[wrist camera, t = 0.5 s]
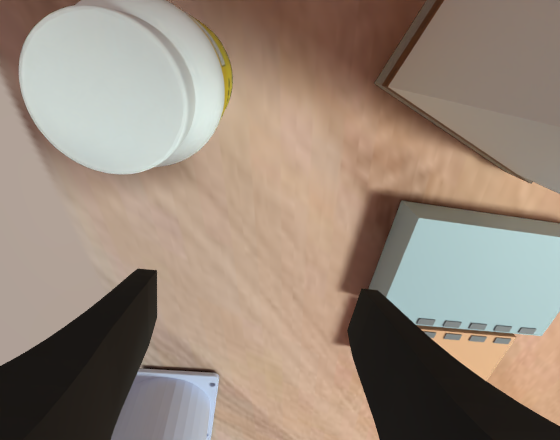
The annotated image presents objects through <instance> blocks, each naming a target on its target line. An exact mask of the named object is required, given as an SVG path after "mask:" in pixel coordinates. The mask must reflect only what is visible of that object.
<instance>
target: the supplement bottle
mask: <svg viewBox="0 0 560 440" xmlns="http://www.w3.org/2000/svg"><path fill="white" fill-rule="evenodd" d="M19 83H20V89H21V93H22V96H23V100H24V102H25V105H26V108H27V110H28V112H29V114H30V116H31V118H32V119H33V121H34V123H35V124H36V126H37V127H38V129H39V130H40V131H41V132H42V134H43V135H44V136H45V137H46V138H47V140H48V141H49V142H50V143H51V144H52V145H53V146H54V147H55V148H57V149H58V150H59V151H60V152H62V153H63V154H64V155H66V156H67V157H69V158H70V159H72V160H73V161H75V162H77V163H79V164H81V165H83V166H85V167H88V168H90V169H93V170H96V171H100V172H104V173H109V174H134V173H139V172H143V171H146V170H148V169H151V168H153V167H161V166H167V165H172V164H175V163H178V162H180V161H183V160H185V159H187V158H189V157H190V156H192V155H193V154H195V153H196V152H197V151H199V150H200V149H201V148H202V147H203V146H204V145H205V144H206V143H207V142H208V140H209V139H210V138H211V136H212V135H213V133H214V132H215V130H216V128H217V126H218V124H219V122H220V120H221V117H222V116H223V113H224V111H225V109H226V107H227V105H228V102H229V100H230V96H231V92H232V84H233V75H232V68H231V64H230V60H229V58H228V55H227V53H226V51H225V49H224V47H223V45H222V43H221V42H220V40H219V39H218V38H217V36H216V35H215V34H214V33H213V32H212V31H211V30H210V29H209V28H208V27H206V26H205V25H204V24H202V23H201V22H200V21H198V20H197V19H195V18H194V17H192V16H190V15H189V14H187V13H186V12H184V11H183V10H181V9H180V8H178V7H177V6H175V5H173V4H172V3H170V2H168V1H166V0H81V1H79V2H78V3H77V4H75V5H74V6H68V7H65V8H61V9H59V10H56V11H54V12H52V13H50V14H49V15H47V16H46V17H44V18H43V19H42V20H41V21H40V22H38V23H37V24H36V25H35V26H34V27H33V29H32V30H31V31H30V33H29V34H28V36H27V38H26V40H25V42H24V44H23V47H22V50H21V54H20V59H19Z"/></svg>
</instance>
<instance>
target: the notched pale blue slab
mask: <svg viewBox="0 0 560 440" xmlns="http://www.w3.org/2000/svg"><path fill="white" fill-rule="evenodd" d="M369 289H372V290H378V291H379V292H381V293H382V294H383V295H384V296H385V297H386V298H387V299H388V300H390V301H391V302H392V303H393V304H394V305H395V306H396V307H397V308H398V309H399V310H400V311H401V312H402V313H404V314H405V315H406V316H407V317H408V318H409V319H410V320H411V321H412V322H413V323H414V324H415V325H422V326H433V327H445V328H456V329H468V330H479V331H491V332H503V333H514V334H526V335H537V336H542V335H543V333H544V332H545V331H546V329H547V328H548V326H549V325H550V324H551V322H552V321H553V320H554V318H555V317H556V315H557V314H558V313H559V311H560V223H554V222H547V221H540V220H533V219H526V218H519V217H512V216H505V215H498V214H491V213H484V212H477V211H470V210H464V209H457V208H450V207H443V206H436V205H429V204H422V203H415V202H408V201H401V203H400V206H399V208H398V211H397V214H396V216H395V219H394V222H393V224H392V227H391V230H390V232H389V235H388V238H387V240H386V243H385V246H384V248H383V251H382V254H381V256H380V259H379V262H378V264H377V267H376V270H375V273H374V275H373V278H372V281H371V283H370V286H369Z"/></svg>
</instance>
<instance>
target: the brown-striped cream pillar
mask: <svg viewBox="0 0 560 440" xmlns="http://www.w3.org/2000/svg"><path fill="white" fill-rule="evenodd" d="M374 84H376V85H377V86H378V87H380V88H381V89H383V90H384V91H386V92H387V93H389V94H390V95H392V96H393V97H395V98H396V99H398V100H399V101H401V102H402V103H404V104H405V105H407V106H408V107H410V108H411V109H413V110H414V111H416V112H417V113H419V114H420V115H422V116H423V117H425V118H426V119H428V120H429V121H431V122H432V123H434V124H435V125H437V126H438V127H440V128H441V129H443V130H444V131H446V132H447V133H449V134H450V135H452V136H453V137H455V138H456V139H458V140H459V141H461V142H462V143H464V144H465V145H466V146H468V147H469V148H471V149H472V150H474V151H475V152H477V153H478V154H480V155H481V156H483V157H484V158H486V159H487V160H489V161H490V162H492V163H493V164H495V165H496V166H498V167H499V168H501V169H502V170H504V171H505V172H507V173H509V174H511V175H513V176H515V177H518V178H520V179H522V180H524V181H526V182H528V183H532V182H535V183H537V184H539V185H542V186H544V187H546V188H548V189H550V190H553V191H555V192H557V193H559V194H560V0H427V1H426V2H425V4H424V5H423V7H422V8H421V10H420V12H419V13H418V15H417V16H416V18H415V20H414V21H413V23H412V24H411V26H410V27H409V29H408V31H407V32H406V34H405V35H404V37H403V39H402V40H401V42H400V43H399V45H398V46H397V48H396V50H395V51H394V53H393V54H392V56H391V58H390V59H389V61H388V62H387V64H386V65H385V67H384V69H383V70H382V72H381V73H380V75H379V77H378V78H377V80H376V81H375V83H374Z"/></svg>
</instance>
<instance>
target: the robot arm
mask: <svg viewBox="0 0 560 440" xmlns="http://www.w3.org/2000/svg"><path fill="white" fill-rule="evenodd" d="M156 319H157V270H146V269H137V270H136V271H134V272H133V273H132V274H131V275H129V276H128V277H127V278H126V279H125V280H124V281H122V282H121V283H120V284H119V285H118V286H117V287H115V288H114V289H113V290H112V291H111V292H109V293H108V294H107V295H106V296H104V297H103V298H102V299H101V300H100V301H98V302H97V303H96V304H94V305H93V306H92V307H91V308H89V309H88V310H87V311H86V312H84V313H83V314H81V315H80V316H79V317H77V318H76V319H75V320H73V321H72V322H70V323H69V324H68V325H67V326H65V327H64V328H62V329H61V330H59V331H58V332H56V333H55V334H53V335H52V336H50V337H49V338H48V339H46V340H44V341H43V342H41V343H40V344H38V345H36V346H35V347H33V348H31V349H30V350H29V351H27V352H25V353H23V354H21V355H20V356H18V357H16V358H14V359H13V360H11V361H9V362H7V363H5V364H3V365H2V366H0V440H211V433H212V426H213V418H214V411H215V404H216V397H217V390H218V382H219V375H218V374H216V373H210V372H193V371H175V370H158V369H141V368H140V365H141V363H142V360H143V358H144V356H145V353H146V351H147V349H148V346H149V343H150V340H151V336H152V333H153V330H154V326H155V322H156ZM347 331H348V336H349V342H350V347H351V351H352V356H353V360H354V363H355V366H356V369H357V372H358V375H359V378H360V381H361V383H362V386H363V389H364V392H365V395H366V398H367V401H368V404H369V407H370V410H371V413H372V415H373V418H374V422H375V425H376V428H377V432H378V435H379V439H380V440H560V426H558V425H556V424H555V423H553V422H551V421H549V420H547V419H546V418H544V417H542V416H540V415H539V414H537V413H535V412H534V411H532V410H530V409H529V408H527V407H525V406H524V405H522V404H520V403H519V402H517V401H516V400H514V399H512V398H511V397H509V396H508V395H506V394H505V393H503V392H502V391H500V390H499V389H497V388H495V387H494V386H493V385H491V384H490V383H488V382H487V381H485V380H484V379H482V378H481V377H480V376H478V375H477V374H475V373H474V372H473V371H471V370H470V369H469V368H467V367H466V366H465V365H463V364H462V363H461V362H459V361H458V360H457V359H455V358H454V357H453V356H452V355H450V354H449V353H448V352H447V351H445V350H444V349H443V348H442V347H441V346H439V345H438V344H437V343H436V342H435V341H433V340H432V339H431V338H430V337H429V336H428V335H427V334H425V333H424V332H423V331H422V330H421V329H420V328H419V327H418V326H417V325H415V324H414V323H413V322H412V321H411V320H410V319H409V318H408V317H407V316H406V315H405V314H404V313H402V312H401V311H400V310H399V309H398V308H397V307H396V306H395V305H394V304H393V303H392V302H391V301H390V300H388V299H387V298H386V297H385V296H384V295H383V294H382V293H381V292H379V291H378V290H372V289H361V292H360V295H359V298H358V301H357V304H356V307H355V310H354V312H353V315H352V318H351V321H350V324H349V327H348V330H347Z"/></svg>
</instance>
